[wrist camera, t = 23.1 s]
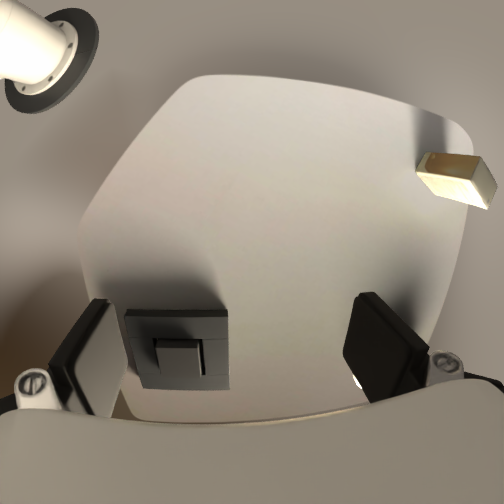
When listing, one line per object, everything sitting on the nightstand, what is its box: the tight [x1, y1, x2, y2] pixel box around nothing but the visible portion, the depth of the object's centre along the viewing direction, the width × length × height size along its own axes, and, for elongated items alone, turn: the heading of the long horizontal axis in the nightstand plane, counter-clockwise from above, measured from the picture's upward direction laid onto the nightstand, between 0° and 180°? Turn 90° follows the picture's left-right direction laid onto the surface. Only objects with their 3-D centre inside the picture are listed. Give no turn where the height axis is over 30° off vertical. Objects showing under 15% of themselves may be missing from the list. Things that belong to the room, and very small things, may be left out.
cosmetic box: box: [415, 152, 497, 209], centre depth 30 cm, size 6×4×12 cm
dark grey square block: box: [155, 338, 202, 378], centre depth 39 cm, size 6×6×3 cm
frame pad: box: [124, 309, 230, 390], centre depth 40 cm, size 15×15×2 cm
